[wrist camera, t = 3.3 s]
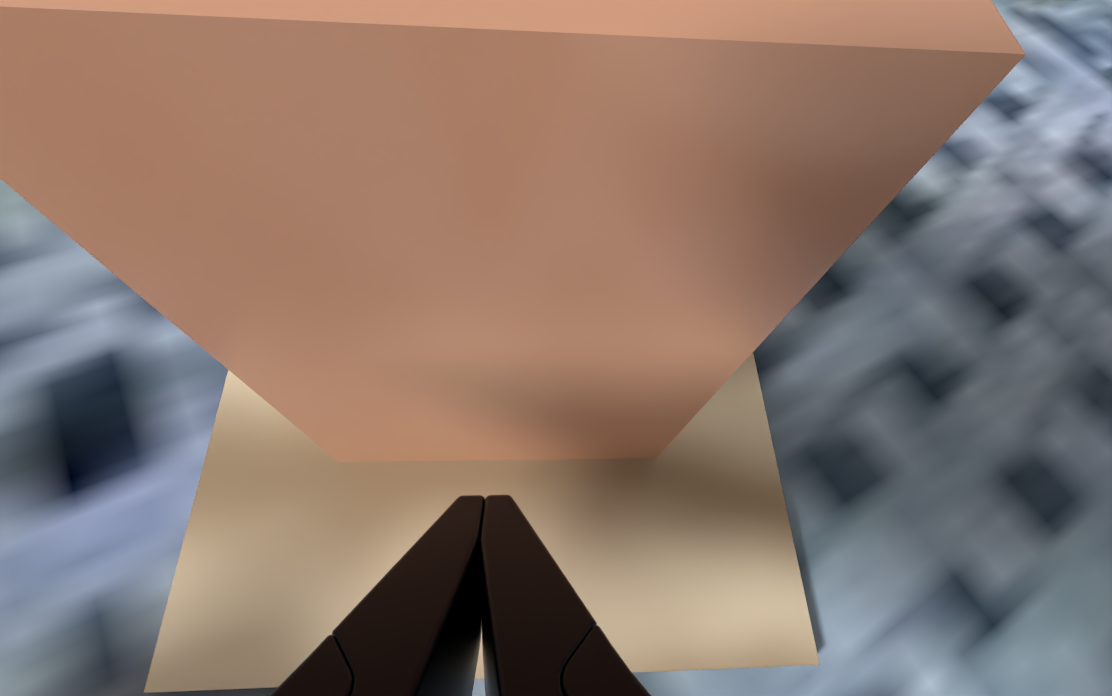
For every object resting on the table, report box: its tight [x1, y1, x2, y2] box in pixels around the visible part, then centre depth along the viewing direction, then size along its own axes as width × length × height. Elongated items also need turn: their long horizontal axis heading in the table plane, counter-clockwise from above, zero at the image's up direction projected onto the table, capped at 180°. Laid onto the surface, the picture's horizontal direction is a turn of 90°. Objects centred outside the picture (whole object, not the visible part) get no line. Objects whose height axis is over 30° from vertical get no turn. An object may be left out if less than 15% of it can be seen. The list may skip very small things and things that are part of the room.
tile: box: [0, 0, 1025, 462], centre depth 11 cm, size 3×10×14 cm, turn 92°
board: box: [144, 353, 820, 693], centre depth 20 cm, size 24×18×1 cm
